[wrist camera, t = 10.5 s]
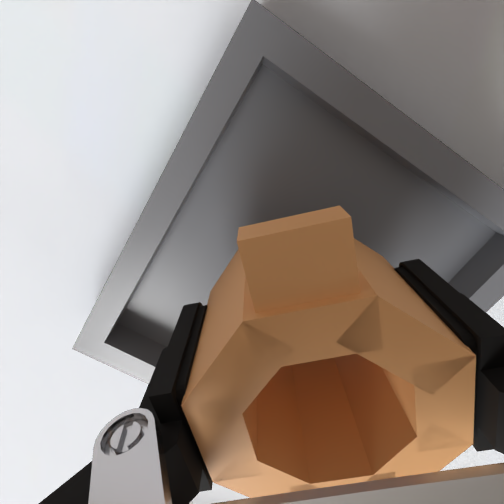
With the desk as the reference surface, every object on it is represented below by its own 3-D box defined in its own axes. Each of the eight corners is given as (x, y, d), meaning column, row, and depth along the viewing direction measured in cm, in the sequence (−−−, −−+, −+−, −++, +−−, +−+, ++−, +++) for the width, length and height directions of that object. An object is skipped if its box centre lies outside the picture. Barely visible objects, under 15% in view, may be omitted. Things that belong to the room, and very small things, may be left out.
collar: (374, 158, 10) (482, 193, 5) (391, 356, 13) (471, 494, 8) (182, 202, 10) (124, 269, 6) (239, 382, 13) (230, 526, 8)
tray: (522, 220, 13) (565, 236, 11) (318, 429, 18) (325, 465, 16) (252, 19, 11) (252, -2, 9) (94, 321, 15) (71, 348, 13)
